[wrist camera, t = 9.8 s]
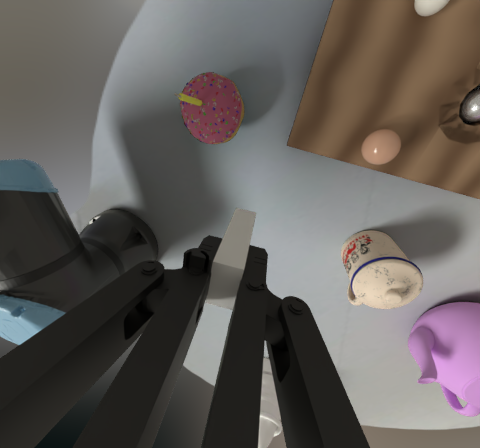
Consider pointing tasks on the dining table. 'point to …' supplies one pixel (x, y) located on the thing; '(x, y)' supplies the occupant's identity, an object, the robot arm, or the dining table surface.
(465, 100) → the steel ball
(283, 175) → the dining table surface
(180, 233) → the dining table surface
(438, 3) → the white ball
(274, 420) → the honey pot
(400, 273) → the teacup with lid
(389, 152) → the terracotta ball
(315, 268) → the dining table surface
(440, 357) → the teapot
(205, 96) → the cupcake
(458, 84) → the wooden board
